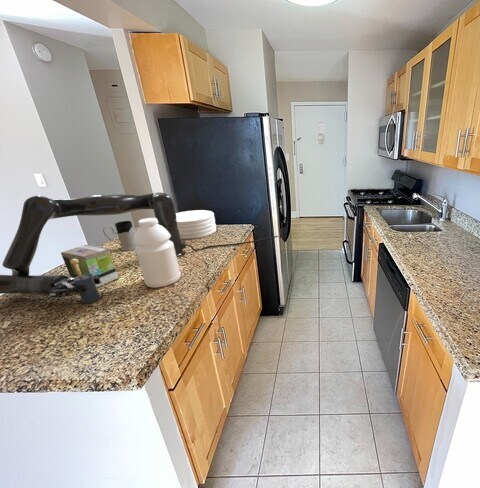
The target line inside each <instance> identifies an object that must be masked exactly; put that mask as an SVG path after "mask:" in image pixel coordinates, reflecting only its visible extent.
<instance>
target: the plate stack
mask: <svg viewBox="0 0 480 488" xmlns="http://www.w3.org/2000/svg"><path fill="white" fill-rule="evenodd" d="M176 217H177V224H178V229H179V233H180V236H181V240H191V239H199V238H203V237H207V236H210V235H212V234H214V233H215V232H216V231H217V224H216V218H215V213H214V212H213V211H212V210H205V209H195V210H186V211H180V212H176Z"/></svg>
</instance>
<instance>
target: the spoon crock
mask: <svg viewBox="0 0 480 488" xmlns="http://www.w3.org/2000/svg"><path fill="white" fill-rule="evenodd" d="M70 262H71V264H73V265H74V266H75V269H76V271H77V274H78V276H77V277H75V278H74V279H73V280H74V282H75V285H76V286H85V287H86V288H87V292H78V294H79V298H80V299H81V302H82V303H83V304H91V303H95V302H97V301H98V300H100V299H101V294H100V292H99V291H100V290H99V289H98V287H97V286H96V283H95V281H94V278H93V275H92V274H83V275H82V274H81V271H80V269H79V266H78V262H79V261H78V259H72V260H71V261H70Z"/></svg>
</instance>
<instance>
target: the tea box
mask: <svg viewBox="0 0 480 488" xmlns="http://www.w3.org/2000/svg"><path fill="white" fill-rule="evenodd" d="M60 254H61V257H62V260H63V262H64V264H65V267H66V269H67V272H68V274H69V278H75V277H77V276H78V274H77V271H76V269H75V266H74V265H73V264H71V262H70V261H71V260H72V259H78V261H79V262H78V266H79V269H80V271H81V274H92V275H93V278H99V279H100V282H101V283H100V284H96V286H97V288H99V287H101V286H103V285H106V284H108V283H110V282H112V281H115V280H116V279H117V280H118V278H119V275H118V272H117V270H116V267H115V264H114V260H113V258H112V255H111V251H110V249H109V248H108V247H103V246H98V245H97V246H96V245H90V244H84V245H81V246H77V247H74V248H71V249H68V250H65V251H62V252H60Z"/></svg>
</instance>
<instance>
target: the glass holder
mask: <svg viewBox="0 0 480 488" xmlns="http://www.w3.org/2000/svg"><path fill="white" fill-rule="evenodd" d="M114 226H115V229H116V232H115V230H114V229H113V228H112V227H111V226H105V227H103V228H102V232H103V234H104V236H105V237H106V238H107V240H109V241H110V242H111V241H112V242H113V243H116V244H119V245H120V247H121V248H120V249H121V251H131V250H135V249H136V247H137V246H138V245H137V244H135V243H134V241H133V240H134V235H135V233H136V231H135V229H134V225H133V223H132V220H123V221H118V222H115V223H114ZM107 228H108V229H111V231H112V233H113V234H116V235H117V237H118V240H119V241H115V240H113V239H111V238H110V237H108V236H107V234H106V233H105V229H107Z"/></svg>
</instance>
